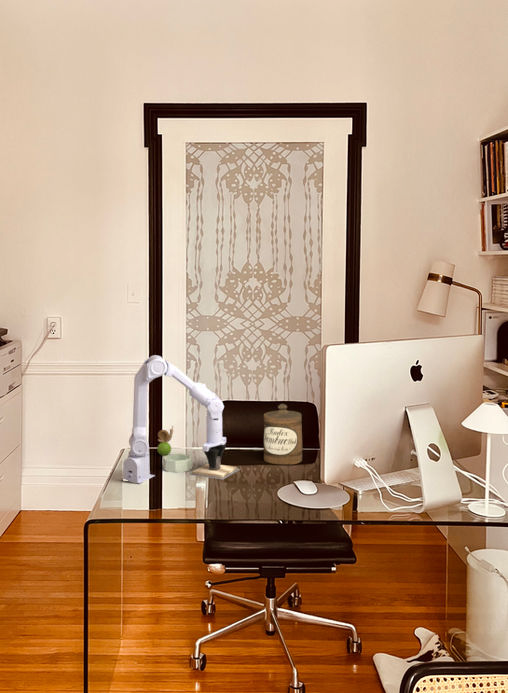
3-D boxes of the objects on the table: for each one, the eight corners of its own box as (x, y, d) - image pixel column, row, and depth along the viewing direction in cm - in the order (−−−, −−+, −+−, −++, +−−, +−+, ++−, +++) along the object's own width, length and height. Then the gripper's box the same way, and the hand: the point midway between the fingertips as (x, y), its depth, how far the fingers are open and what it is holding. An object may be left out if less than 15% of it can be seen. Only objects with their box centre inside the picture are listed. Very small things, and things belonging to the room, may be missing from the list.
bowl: (182, 474, 256) (182, 462, 256) (158, 471, 261) (158, 459, 260) (196, 467, 265) (196, 455, 265) (173, 464, 270) (173, 452, 269)
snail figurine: (172, 457, 280) (172, 427, 278) (156, 457, 280) (156, 427, 278) (174, 453, 285) (174, 424, 284) (158, 453, 285) (158, 424, 284)
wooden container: (258, 463, 270) (258, 406, 268) (270, 453, 284) (270, 399, 282) (296, 467, 266) (296, 409, 263) (306, 456, 280) (306, 401, 277)
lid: (221, 477, 250) (221, 463, 250) (192, 473, 255) (192, 459, 255) (237, 469, 261) (236, 454, 260) (208, 465, 266) (208, 451, 266)
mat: (223, 480, 249) (223, 479, 249) (188, 475, 255) (188, 474, 255) (240, 470, 262) (240, 469, 262) (207, 465, 268) (207, 464, 267)
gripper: (214, 434, 248) (215, 472, 250) (233, 426, 261) (233, 462, 263) (197, 432, 251) (197, 470, 253) (216, 424, 264) (216, 460, 266)
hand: (214, 466), depth 258 cm, fingers closed on lid, 3 cm apart
